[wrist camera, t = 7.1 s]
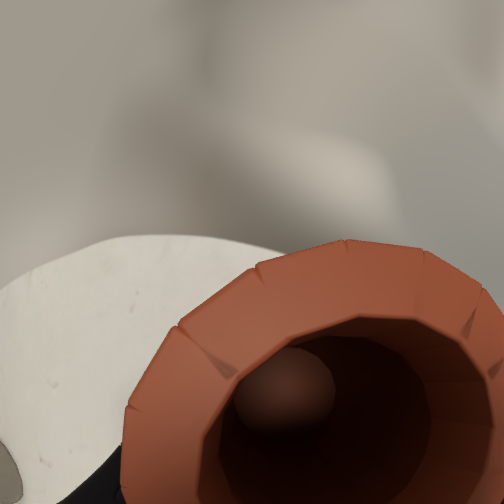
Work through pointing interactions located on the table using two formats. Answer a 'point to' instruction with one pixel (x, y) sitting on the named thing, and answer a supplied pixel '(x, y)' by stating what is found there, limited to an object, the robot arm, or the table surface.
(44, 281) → the table surface
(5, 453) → the cup
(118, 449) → the robot arm
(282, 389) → the jar
